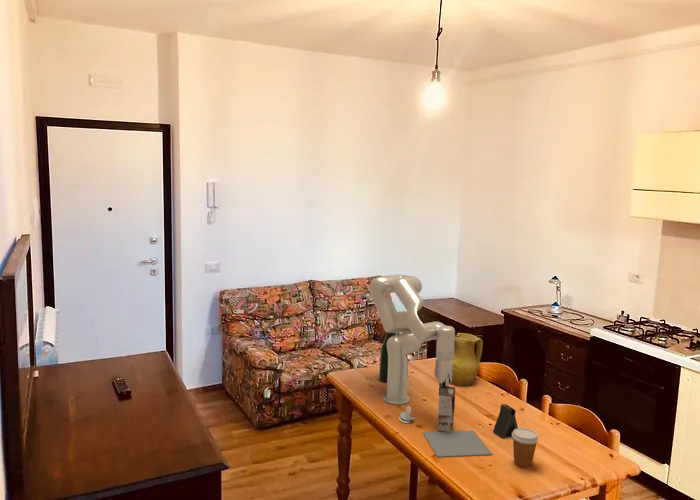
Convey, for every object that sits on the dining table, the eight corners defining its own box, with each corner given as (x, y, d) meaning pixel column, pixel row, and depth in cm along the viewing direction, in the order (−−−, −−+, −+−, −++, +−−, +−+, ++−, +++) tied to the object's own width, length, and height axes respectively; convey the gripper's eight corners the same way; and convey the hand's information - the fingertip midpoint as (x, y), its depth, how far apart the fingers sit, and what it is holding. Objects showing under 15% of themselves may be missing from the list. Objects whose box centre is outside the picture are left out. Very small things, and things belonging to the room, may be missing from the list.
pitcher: (442, 373, 299) (447, 329, 295) (477, 378, 297) (483, 333, 293) (443, 386, 283) (448, 339, 278) (480, 391, 280) (486, 344, 276)
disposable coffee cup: (506, 456, 212) (509, 426, 210) (531, 457, 212) (534, 428, 210) (513, 469, 203) (515, 438, 201) (539, 470, 202) (542, 439, 201)
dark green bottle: (377, 376, 293) (380, 315, 289) (396, 376, 294) (399, 315, 290) (380, 383, 283) (383, 320, 279) (400, 383, 284) (403, 320, 280)
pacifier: (405, 425, 236) (416, 422, 239) (405, 411, 235) (417, 408, 238) (395, 418, 242) (406, 416, 245) (395, 405, 242) (406, 402, 245)
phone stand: (509, 429, 236) (511, 402, 234) (519, 435, 230) (521, 407, 229) (492, 432, 232) (494, 405, 231) (501, 438, 227) (504, 410, 225)
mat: (422, 433, 229) (422, 432, 229) (473, 431, 232) (473, 430, 232) (437, 457, 209) (437, 456, 209) (492, 455, 213) (492, 453, 213)
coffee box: (452, 432, 229) (455, 397, 226) (437, 430, 231) (439, 395, 227) (453, 421, 238) (455, 386, 234) (438, 419, 239) (440, 385, 236)
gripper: (431, 349, 244) (429, 390, 246) (441, 360, 229) (439, 403, 231) (447, 349, 245) (445, 389, 247) (459, 360, 230) (457, 402, 233)
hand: (442, 396), depth 239 cm, fingers closed
